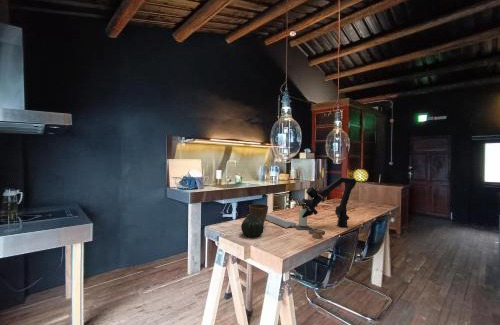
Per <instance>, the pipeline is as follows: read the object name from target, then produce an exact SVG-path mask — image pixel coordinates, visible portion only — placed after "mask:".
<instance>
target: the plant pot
mask: <svg viewBox="0 0 500 325" xmlns="http://www.w3.org/2000/svg"><path fill="white" fill-rule="evenodd" d="M248 209H249V211H248V212H249V214H251V215H254V216H255V217H257V218H259V219H260V220H261V222H262V224H263V225H264V224H265V221H266V220H265V219H266V215H267V214H268V210H269V206H268V205H266V204H261V203H260V204H259V203H258V204H257V203H254V204H249V205H248Z"/></svg>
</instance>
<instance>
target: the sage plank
mask: <svg viewBox="0 0 500 325" xmlns="http://www.w3.org/2000/svg"><path fill="white" fill-rule="evenodd" d="M305 212H306V209H302V208H299V209H298V225H300V226H308V216H307V217H304V218H303V217H302V216H303V215H304V213H305Z"/></svg>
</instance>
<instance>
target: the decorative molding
mask: <svg viewBox="0 0 500 325" xmlns="http://www.w3.org/2000/svg"><path fill="white" fill-rule="evenodd" d="M265 221H268V222H271V223H273V224H275V225H278V226H280V227H283V228H285V229H287V228H289V227H293V226H294V225H297V222H294V221H292V220H289V219H286V218H283V217H280V216H278V215H274V214H272V213H267V215H266V219H265ZM293 228H294V227H293Z"/></svg>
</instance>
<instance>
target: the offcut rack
mask: <svg viewBox="0 0 500 325" xmlns="http://www.w3.org/2000/svg"><path fill="white" fill-rule="evenodd" d="M314 230H319V231H322V232H323V234H322V236H323V235H325V234H326V231H325V230H323V229H319V228H314V229H313V228H312V230H308V234H310V235H311V236H312V235H313V231H314Z"/></svg>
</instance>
